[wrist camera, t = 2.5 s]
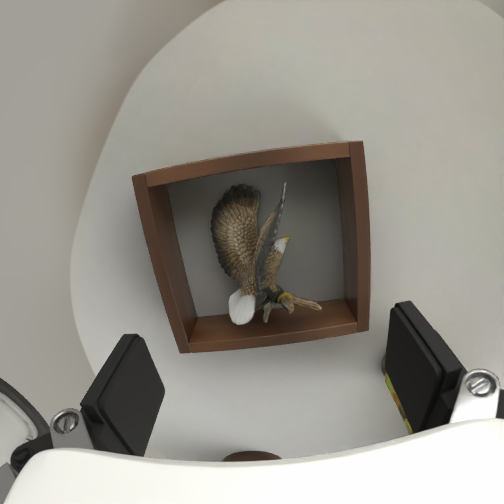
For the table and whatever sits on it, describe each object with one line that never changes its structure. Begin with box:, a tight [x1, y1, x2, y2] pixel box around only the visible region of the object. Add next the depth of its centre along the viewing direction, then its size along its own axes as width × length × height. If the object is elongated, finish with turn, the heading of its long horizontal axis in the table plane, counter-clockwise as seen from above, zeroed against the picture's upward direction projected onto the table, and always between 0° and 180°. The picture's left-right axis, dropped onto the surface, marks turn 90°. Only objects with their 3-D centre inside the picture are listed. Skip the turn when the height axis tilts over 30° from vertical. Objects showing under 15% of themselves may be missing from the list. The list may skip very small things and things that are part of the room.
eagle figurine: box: [211, 183, 322, 325], centre depth 21 cm, size 8×7×9 cm
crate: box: [132, 141, 371, 353], centre depth 22 cm, size 15×14×4 cm
